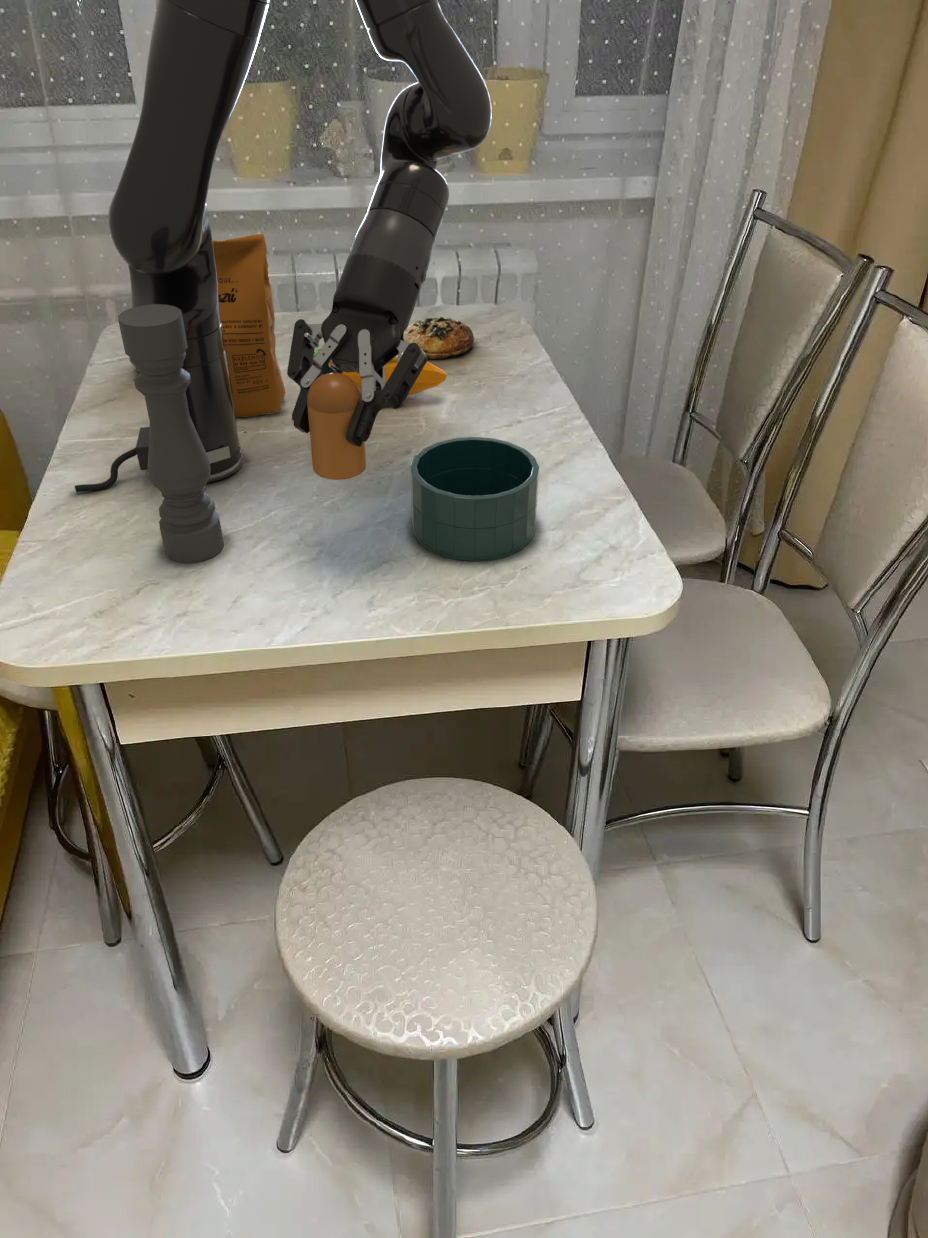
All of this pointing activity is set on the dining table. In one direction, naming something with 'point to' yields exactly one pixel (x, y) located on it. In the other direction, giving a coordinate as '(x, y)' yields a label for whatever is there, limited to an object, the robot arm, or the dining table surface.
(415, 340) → the bread roll
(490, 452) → the pot
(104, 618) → the dining table surface
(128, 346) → the candle holder
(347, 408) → the brown rounded cylinder
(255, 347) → the coffee package
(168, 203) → the robot arm
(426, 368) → the corn
